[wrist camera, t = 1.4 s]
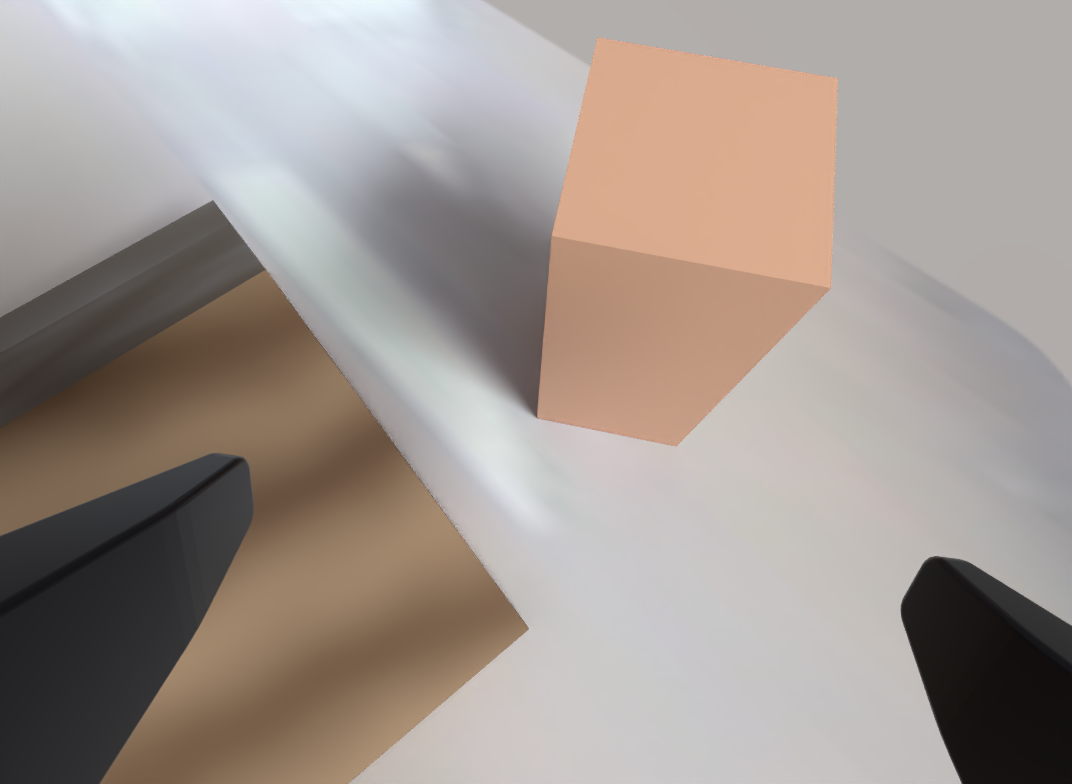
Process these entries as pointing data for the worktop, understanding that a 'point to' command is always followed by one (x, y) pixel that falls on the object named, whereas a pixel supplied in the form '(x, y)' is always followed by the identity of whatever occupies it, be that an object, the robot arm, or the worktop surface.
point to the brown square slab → (278, 521)
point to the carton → (683, 235)
